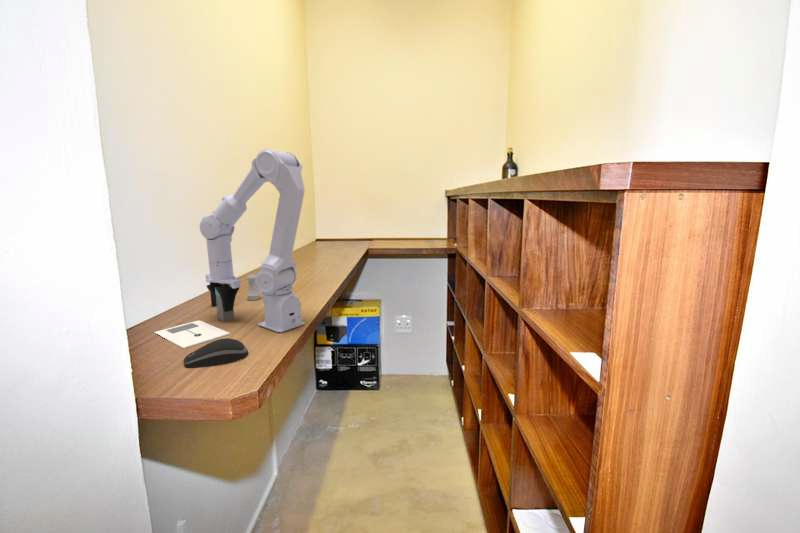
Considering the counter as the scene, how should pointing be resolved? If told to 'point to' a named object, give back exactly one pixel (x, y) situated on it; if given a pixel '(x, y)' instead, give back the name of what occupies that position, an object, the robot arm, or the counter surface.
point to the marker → (221, 313)
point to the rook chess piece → (253, 289)
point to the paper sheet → (191, 334)
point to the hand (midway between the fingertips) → (225, 309)
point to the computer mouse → (216, 354)
